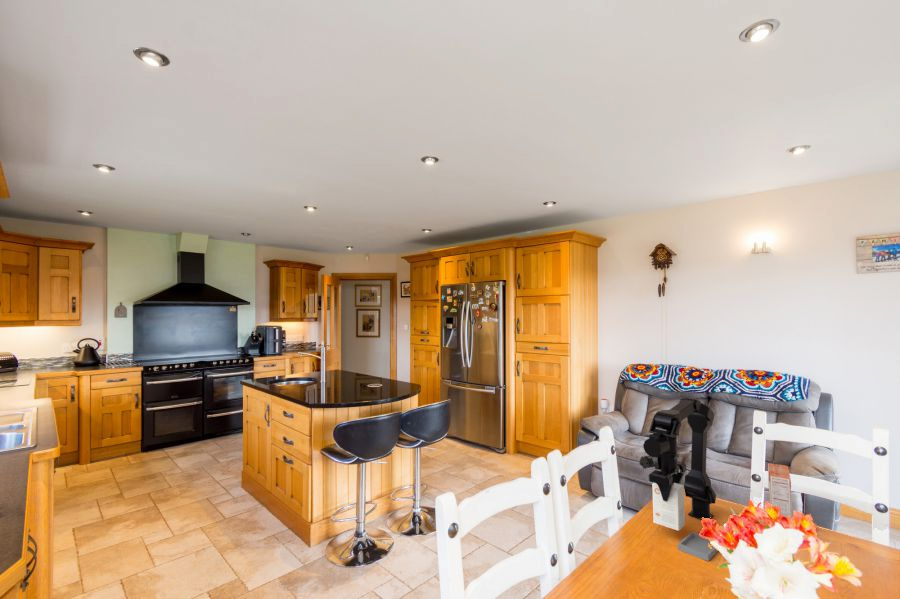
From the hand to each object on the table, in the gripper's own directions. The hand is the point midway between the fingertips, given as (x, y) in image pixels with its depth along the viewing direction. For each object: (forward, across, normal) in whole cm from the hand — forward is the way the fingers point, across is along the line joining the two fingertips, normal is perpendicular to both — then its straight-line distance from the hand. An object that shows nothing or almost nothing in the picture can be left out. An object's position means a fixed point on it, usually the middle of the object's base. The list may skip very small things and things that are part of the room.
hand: (668, 497), depth 143 cm
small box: (+9, 0, 0) cm, 9 cm away
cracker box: (+13, -30, +26) cm, 42 cm away
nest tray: (+13, +1, +9) cm, 16 cm away
